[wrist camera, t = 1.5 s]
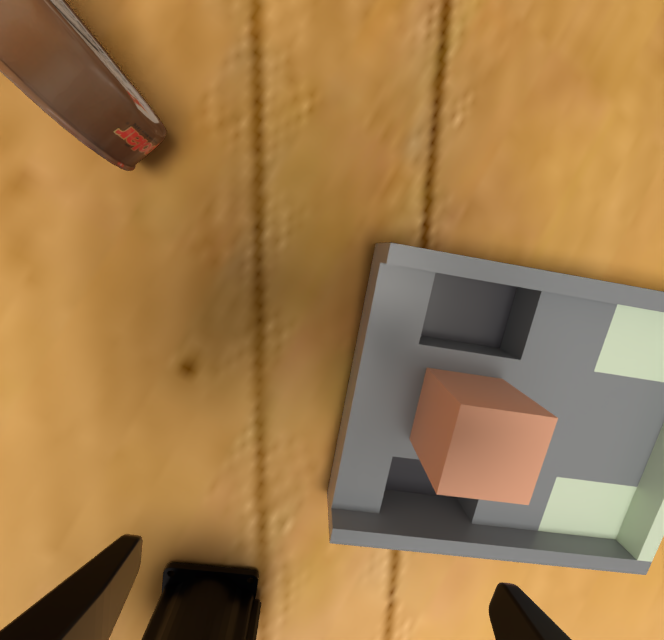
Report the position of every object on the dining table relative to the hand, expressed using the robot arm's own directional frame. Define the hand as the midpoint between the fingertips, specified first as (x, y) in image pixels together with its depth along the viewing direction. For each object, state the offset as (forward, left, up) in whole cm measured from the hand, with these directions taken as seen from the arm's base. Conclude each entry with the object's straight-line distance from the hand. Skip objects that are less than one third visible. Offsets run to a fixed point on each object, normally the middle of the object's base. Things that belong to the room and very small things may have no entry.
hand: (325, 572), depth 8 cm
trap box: (+12, 0, -13) cm, 18 cm away
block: (+8, 0, -11) cm, 13 cm away
